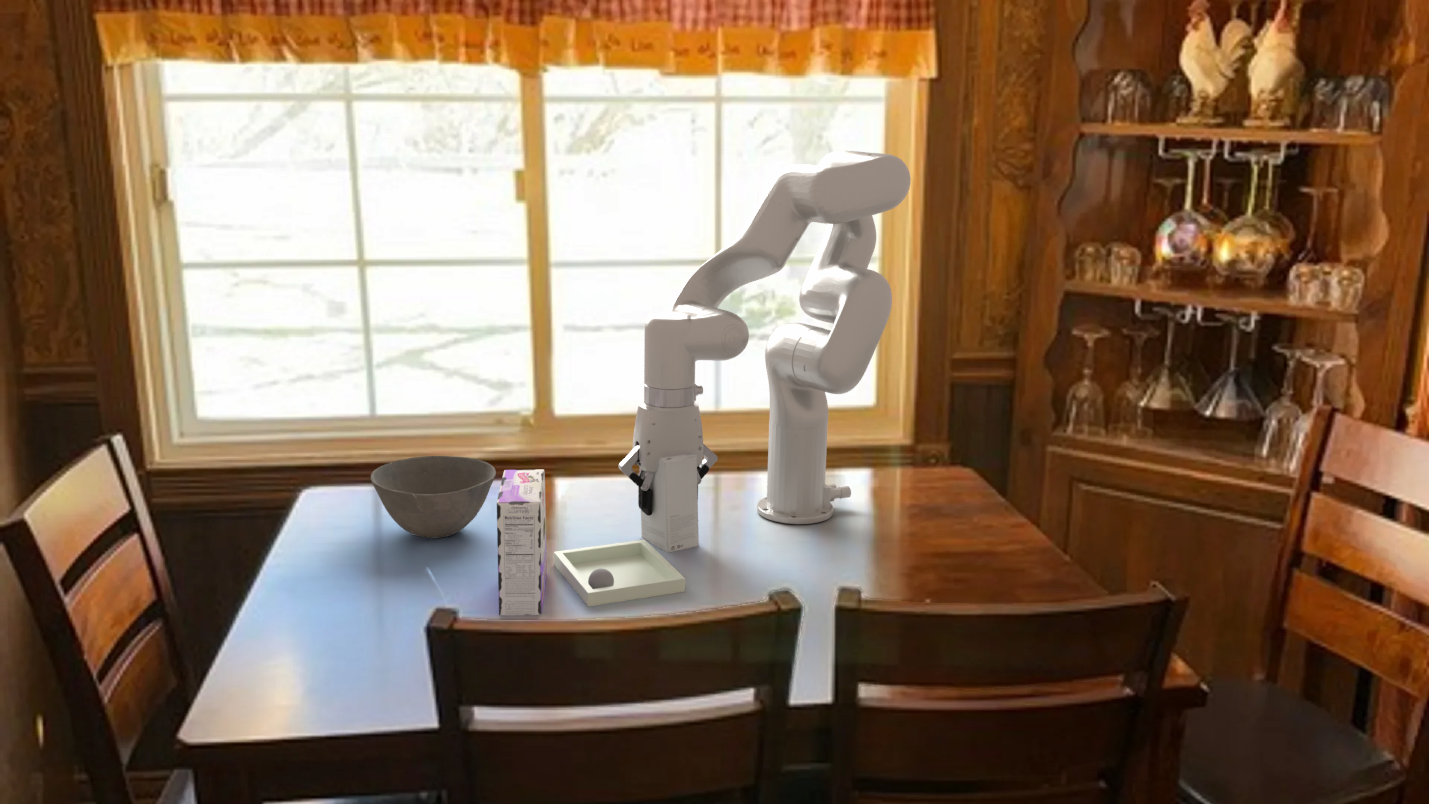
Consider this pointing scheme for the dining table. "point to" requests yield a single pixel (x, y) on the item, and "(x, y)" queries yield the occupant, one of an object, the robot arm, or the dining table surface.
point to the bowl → (433, 492)
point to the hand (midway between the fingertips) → (668, 509)
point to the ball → (600, 579)
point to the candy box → (521, 542)
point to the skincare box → (673, 505)
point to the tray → (619, 572)
